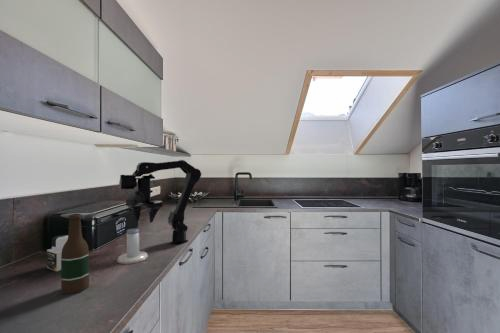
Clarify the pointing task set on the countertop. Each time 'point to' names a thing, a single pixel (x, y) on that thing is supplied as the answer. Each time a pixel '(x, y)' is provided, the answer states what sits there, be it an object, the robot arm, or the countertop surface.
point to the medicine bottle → (56, 252)
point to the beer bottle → (74, 259)
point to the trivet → (125, 260)
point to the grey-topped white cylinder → (132, 243)
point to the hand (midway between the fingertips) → (144, 221)
